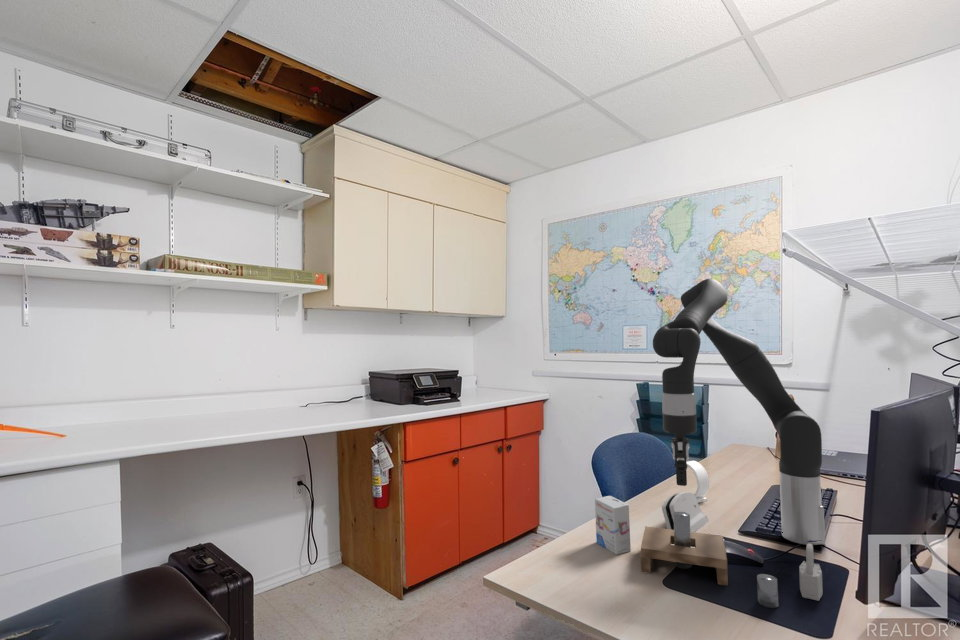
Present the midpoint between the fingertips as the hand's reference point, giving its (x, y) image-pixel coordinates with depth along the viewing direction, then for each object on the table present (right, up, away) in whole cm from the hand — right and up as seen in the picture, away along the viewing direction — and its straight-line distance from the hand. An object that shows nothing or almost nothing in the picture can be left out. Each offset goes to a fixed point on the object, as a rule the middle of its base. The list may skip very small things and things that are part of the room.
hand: (681, 480), depth 119 cm
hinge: (+11, -21, +24) cm, 34 cm away
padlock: (+22, -20, -14) cm, 32 cm away
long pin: (0, -20, 0) cm, 20 cm away
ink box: (-14, -21, +11) cm, 27 cm away
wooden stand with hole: (0, -20, 0) cm, 20 cm away
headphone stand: (+23, -21, +45) cm, 55 cm away
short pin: (+10, -19, -17) cm, 28 cm away
